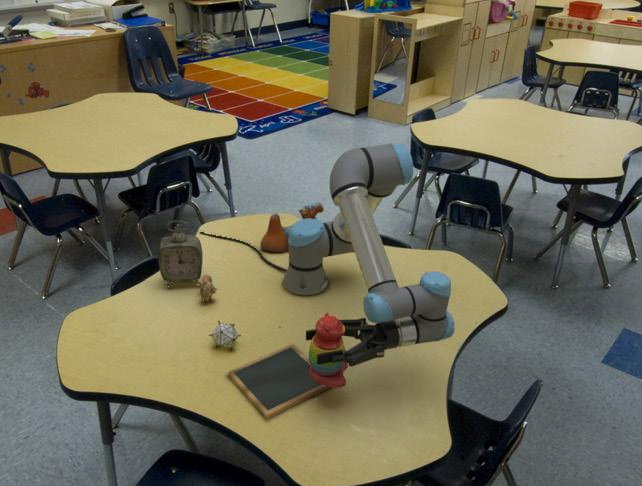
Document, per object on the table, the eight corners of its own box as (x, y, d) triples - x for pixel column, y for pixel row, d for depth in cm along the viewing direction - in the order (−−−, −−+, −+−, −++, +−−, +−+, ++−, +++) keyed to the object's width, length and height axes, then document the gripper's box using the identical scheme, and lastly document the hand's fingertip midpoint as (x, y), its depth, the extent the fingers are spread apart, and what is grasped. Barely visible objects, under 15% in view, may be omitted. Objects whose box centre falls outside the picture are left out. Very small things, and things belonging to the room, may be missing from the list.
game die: (232, 352, 180) (250, 329, 177) (221, 361, 172) (240, 337, 169) (210, 333, 181) (228, 310, 178) (199, 341, 173) (217, 317, 170)
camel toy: (260, 254, 223) (258, 213, 214) (261, 237, 235) (259, 198, 226) (325, 254, 223) (327, 213, 214) (323, 237, 234) (324, 197, 225)
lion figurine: (219, 307, 194) (217, 284, 189) (203, 310, 193) (200, 287, 188) (212, 284, 206) (210, 262, 202) (197, 286, 205) (195, 264, 201)
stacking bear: (345, 389, 148) (349, 333, 138) (305, 385, 149) (306, 329, 140) (348, 361, 157) (352, 307, 147) (311, 357, 158) (312, 304, 149)
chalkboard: (228, 375, 166) (228, 371, 165) (291, 347, 176) (291, 343, 175) (266, 419, 151) (266, 414, 150) (333, 385, 161) (333, 381, 161)
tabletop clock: (162, 291, 203) (153, 227, 190) (164, 277, 211) (156, 214, 198) (204, 289, 204) (198, 225, 191) (205, 275, 211) (199, 213, 198)
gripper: (411, 371, 145) (324, 387, 140) (377, 320, 163) (299, 333, 158) (414, 347, 141) (325, 363, 136) (379, 298, 159) (299, 310, 154)
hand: (311, 347), depth 147 cm, fingers closed on stacking bear, 9 cm apart
